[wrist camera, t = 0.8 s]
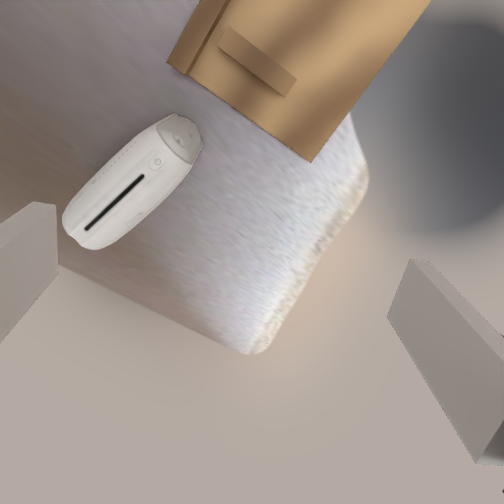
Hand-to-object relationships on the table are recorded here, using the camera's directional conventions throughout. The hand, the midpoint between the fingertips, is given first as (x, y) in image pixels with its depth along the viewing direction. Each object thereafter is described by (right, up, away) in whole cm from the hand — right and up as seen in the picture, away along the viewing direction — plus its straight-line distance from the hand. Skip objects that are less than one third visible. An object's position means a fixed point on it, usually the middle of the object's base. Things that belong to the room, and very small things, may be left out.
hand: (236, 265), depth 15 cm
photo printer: (-8, +9, +21) cm, 24 cm away
